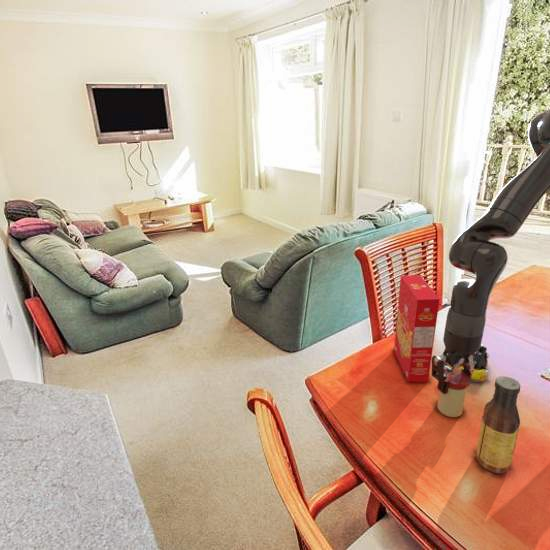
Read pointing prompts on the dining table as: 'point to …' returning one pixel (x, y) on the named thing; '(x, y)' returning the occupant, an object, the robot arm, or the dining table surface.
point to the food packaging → (415, 327)
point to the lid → (458, 380)
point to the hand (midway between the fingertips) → (453, 387)
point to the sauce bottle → (499, 427)
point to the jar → (452, 402)
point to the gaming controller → (480, 373)
